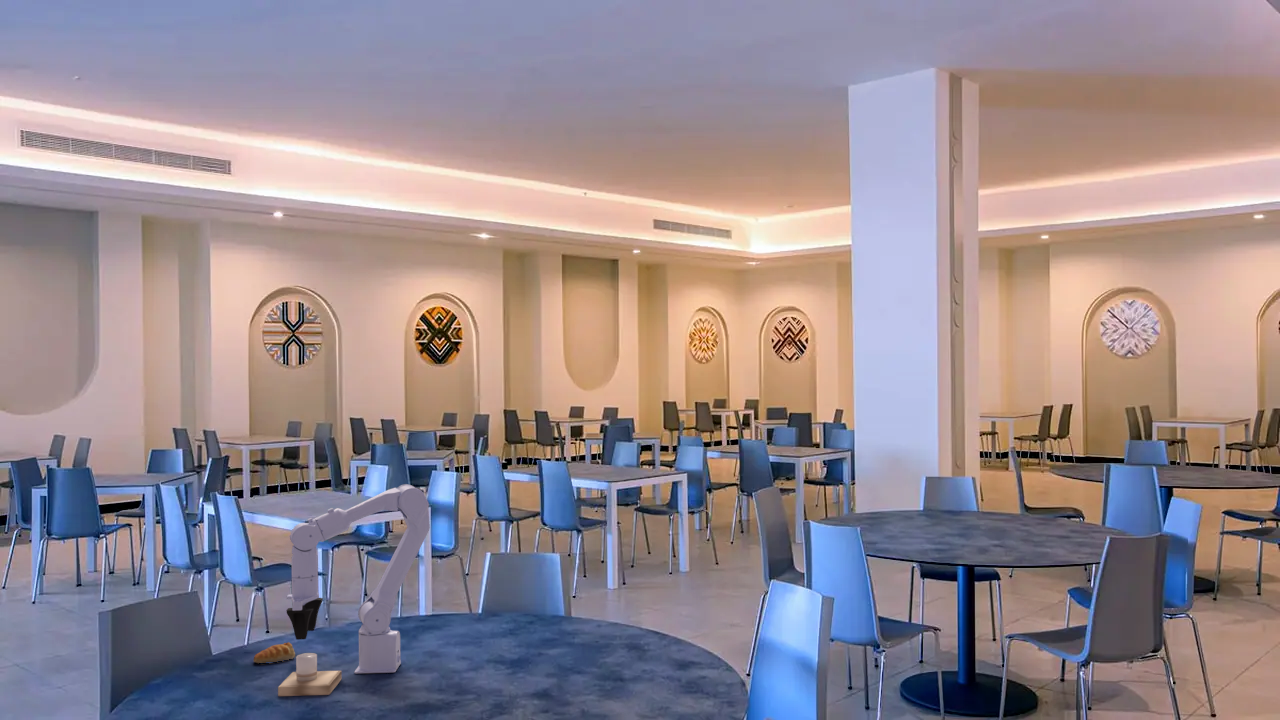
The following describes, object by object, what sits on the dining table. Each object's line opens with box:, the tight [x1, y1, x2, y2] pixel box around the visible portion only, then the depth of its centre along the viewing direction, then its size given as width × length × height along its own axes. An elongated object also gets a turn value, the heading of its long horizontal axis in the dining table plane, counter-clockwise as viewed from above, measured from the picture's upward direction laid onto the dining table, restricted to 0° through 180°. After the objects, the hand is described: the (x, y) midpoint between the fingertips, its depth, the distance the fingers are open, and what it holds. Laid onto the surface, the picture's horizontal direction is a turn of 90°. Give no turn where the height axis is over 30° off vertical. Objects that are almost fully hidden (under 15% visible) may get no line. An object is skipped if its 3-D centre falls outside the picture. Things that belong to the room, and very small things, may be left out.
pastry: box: [253, 642, 296, 664], centre depth 249 cm, size 9×7×4 cm
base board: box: [277, 670, 343, 697], centre depth 226 cm, size 11×11×2 cm
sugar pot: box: [295, 652, 318, 681], centre depth 226 cm, size 4×4×5 cm
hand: (305, 634), depth 234 cm, fingers open, 7 cm apart
